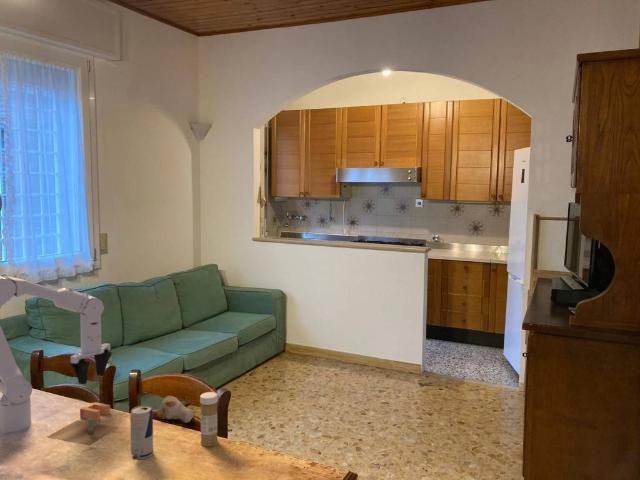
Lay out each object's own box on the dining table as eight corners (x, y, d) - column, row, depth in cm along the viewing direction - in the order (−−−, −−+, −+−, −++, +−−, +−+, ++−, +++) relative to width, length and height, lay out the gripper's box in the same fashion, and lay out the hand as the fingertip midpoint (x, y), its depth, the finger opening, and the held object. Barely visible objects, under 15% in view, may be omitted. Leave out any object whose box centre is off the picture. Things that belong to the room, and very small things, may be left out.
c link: (80, 420, 148) (80, 408, 147) (94, 413, 153) (93, 402, 152) (96, 424, 146) (96, 412, 145) (110, 416, 151) (110, 404, 150)
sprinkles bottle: (215, 438, 139) (215, 390, 138) (219, 445, 135) (219, 396, 134) (198, 440, 138) (198, 392, 136) (201, 448, 133) (201, 398, 132)
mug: (189, 428, 145) (170, 400, 144) (165, 436, 149) (147, 409, 148) (202, 412, 152) (184, 385, 151) (179, 420, 156) (162, 394, 155)
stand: (46, 442, 135) (46, 422, 135) (77, 425, 146) (76, 406, 145) (89, 450, 131) (89, 430, 131) (118, 432, 142) (118, 413, 141)
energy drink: (157, 451, 131) (157, 406, 130) (143, 461, 126) (143, 415, 125) (140, 448, 133) (139, 403, 132) (126, 458, 128) (125, 411, 127)
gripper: (84, 343, 146) (85, 389, 147) (118, 331, 160) (118, 373, 161) (64, 340, 148) (65, 386, 149) (99, 329, 162) (100, 370, 163)
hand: (91, 379), depth 155 cm, fingers open, 7 cm apart
